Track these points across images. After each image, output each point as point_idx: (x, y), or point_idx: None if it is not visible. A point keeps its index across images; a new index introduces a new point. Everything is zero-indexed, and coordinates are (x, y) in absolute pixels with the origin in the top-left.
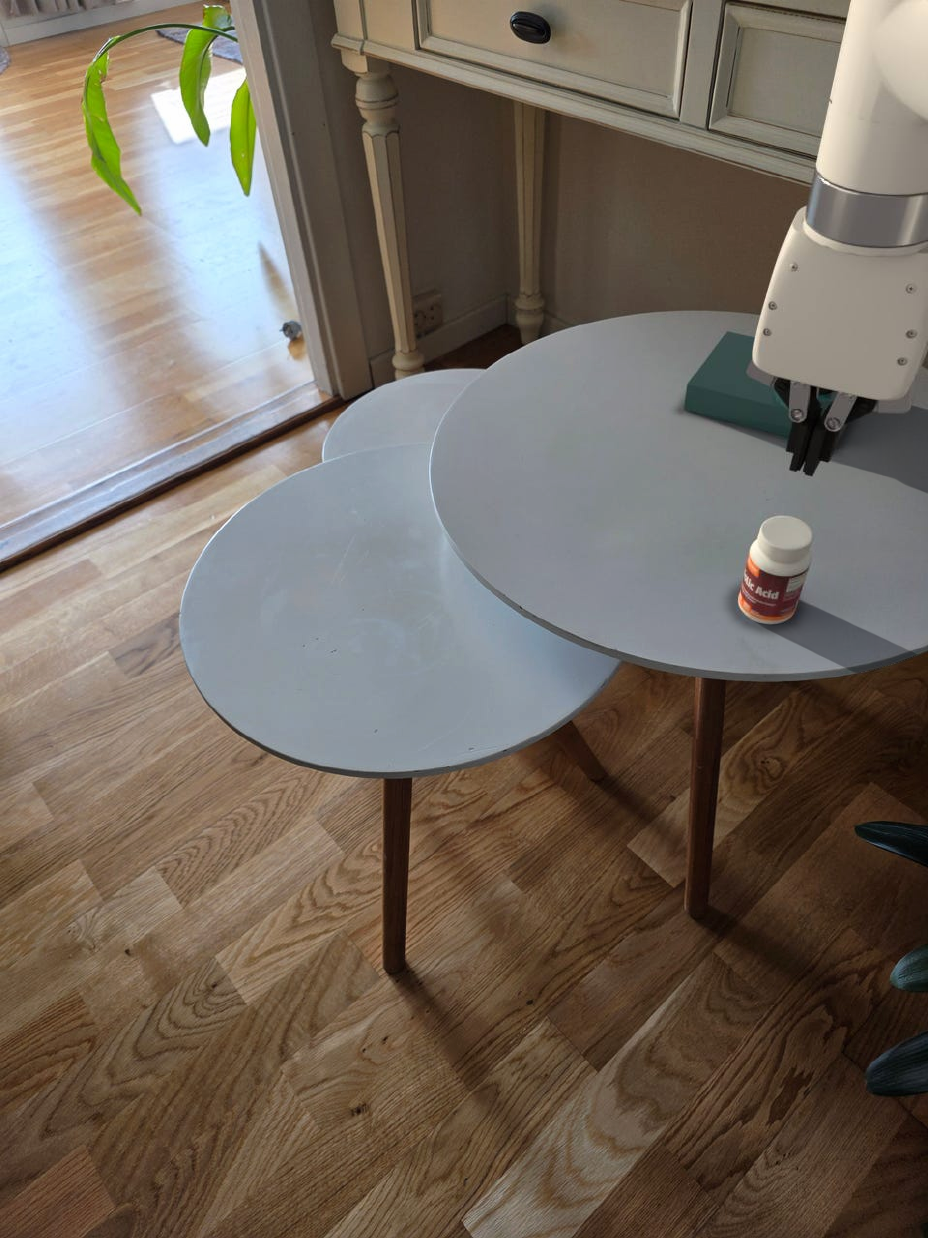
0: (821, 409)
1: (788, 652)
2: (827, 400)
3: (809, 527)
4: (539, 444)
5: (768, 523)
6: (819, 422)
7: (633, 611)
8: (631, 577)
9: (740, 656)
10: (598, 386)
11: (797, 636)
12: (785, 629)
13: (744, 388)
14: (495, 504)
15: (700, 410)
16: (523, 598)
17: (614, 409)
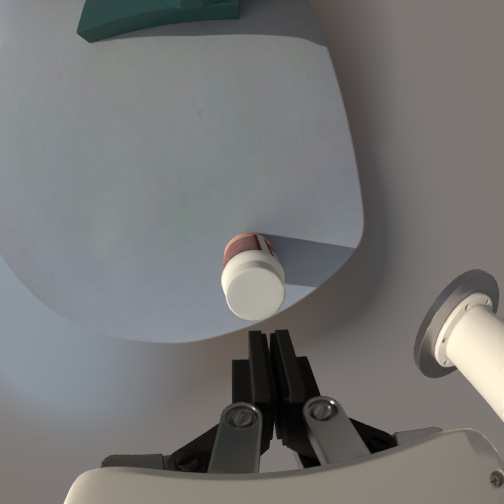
0: (275, 402)
1: None
2: None
3: (276, 276)
4: (13, 165)
5: (232, 291)
6: (281, 428)
7: (158, 309)
8: (137, 277)
9: None
10: (26, 68)
11: None
12: None
13: (128, 5)
14: (25, 250)
15: (102, 37)
16: (93, 328)
17: (40, 83)
